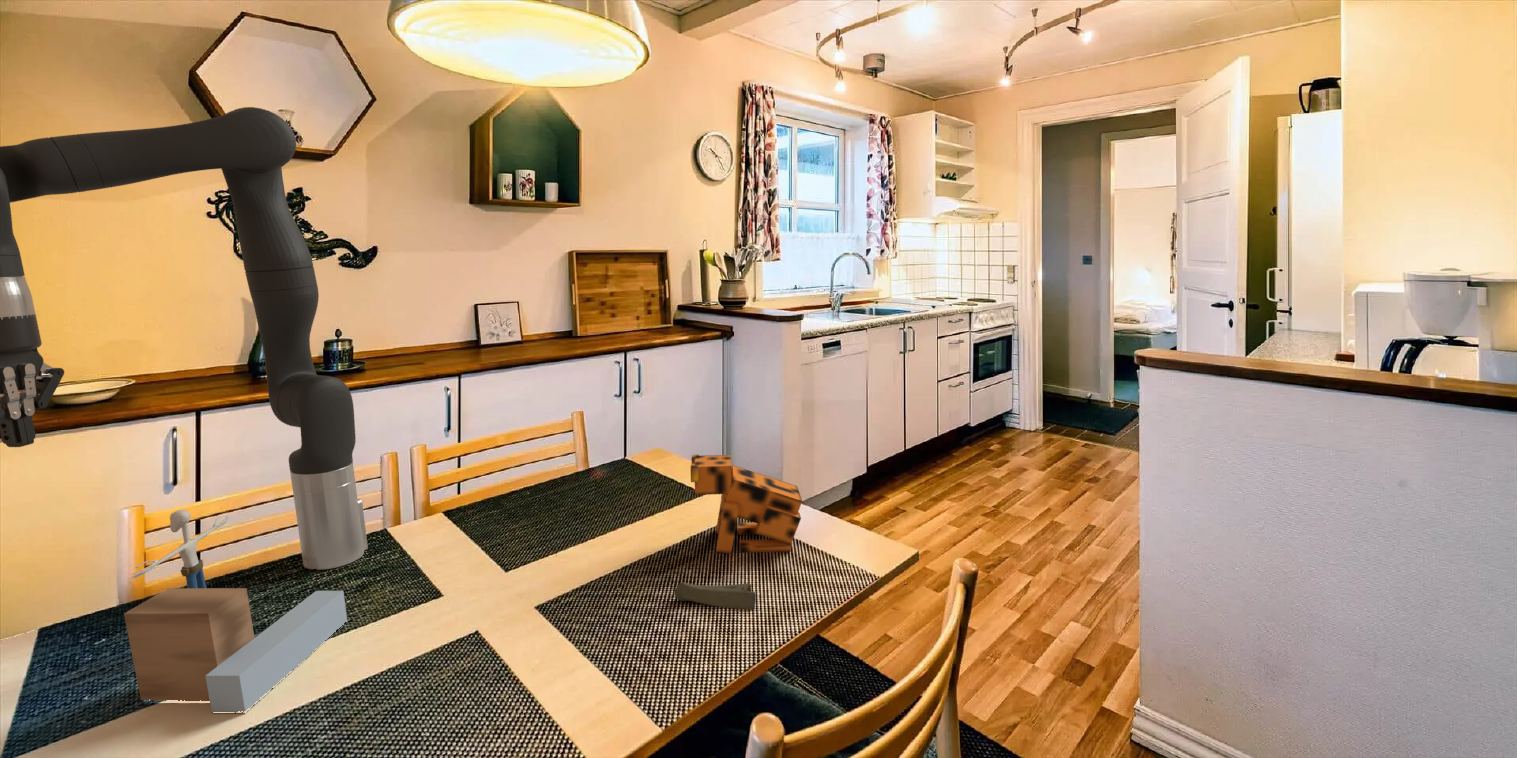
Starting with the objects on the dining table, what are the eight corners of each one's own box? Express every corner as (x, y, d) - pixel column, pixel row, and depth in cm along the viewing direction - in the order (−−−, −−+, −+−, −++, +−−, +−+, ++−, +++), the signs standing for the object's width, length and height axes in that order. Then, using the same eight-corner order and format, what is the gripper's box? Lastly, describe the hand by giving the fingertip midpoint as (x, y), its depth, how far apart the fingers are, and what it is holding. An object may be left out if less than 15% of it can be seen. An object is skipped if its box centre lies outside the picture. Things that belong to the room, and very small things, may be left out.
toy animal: (802, 551, 122) (803, 467, 119) (692, 555, 121) (690, 470, 118) (796, 528, 132) (796, 450, 129) (694, 531, 131) (692, 452, 128)
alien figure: (216, 605, 104) (196, 487, 101) (254, 602, 105) (235, 485, 101) (113, 687, 85) (84, 543, 81) (161, 683, 86) (134, 541, 82)
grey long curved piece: (759, 594, 107) (758, 574, 107) (755, 611, 102) (754, 590, 102) (680, 590, 109) (679, 570, 108) (672, 607, 104) (671, 586, 103)
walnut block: (183, 673, 88) (167, 588, 85) (260, 673, 87) (246, 588, 85) (141, 704, 82) (123, 613, 79) (223, 704, 82) (208, 613, 79)
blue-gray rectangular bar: (320, 622, 99) (316, 590, 98) (347, 622, 99) (343, 590, 98) (212, 713, 80) (205, 675, 79) (245, 713, 80) (239, 675, 79)
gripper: (-40, 318, 79) (-8, 461, 82) (73, 308, 92) (98, 432, 95) (-104, 318, 79) (-69, 461, 82) (19, 309, 92) (45, 432, 95)
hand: (20, 445), depth 88 cm, fingers closed
